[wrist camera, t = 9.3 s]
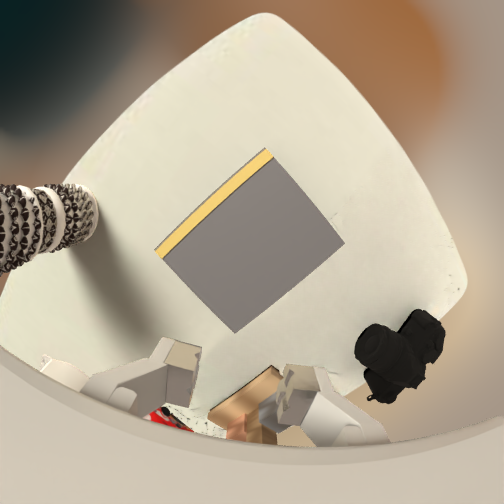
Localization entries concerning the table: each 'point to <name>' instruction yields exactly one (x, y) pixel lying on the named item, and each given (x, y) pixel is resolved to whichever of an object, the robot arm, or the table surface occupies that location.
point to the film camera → (399, 354)
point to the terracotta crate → (237, 429)
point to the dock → (249, 242)
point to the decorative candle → (43, 221)
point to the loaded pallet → (249, 406)
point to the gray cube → (270, 414)
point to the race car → (166, 418)
